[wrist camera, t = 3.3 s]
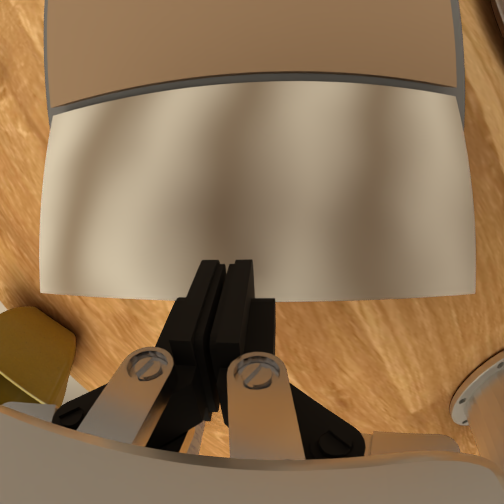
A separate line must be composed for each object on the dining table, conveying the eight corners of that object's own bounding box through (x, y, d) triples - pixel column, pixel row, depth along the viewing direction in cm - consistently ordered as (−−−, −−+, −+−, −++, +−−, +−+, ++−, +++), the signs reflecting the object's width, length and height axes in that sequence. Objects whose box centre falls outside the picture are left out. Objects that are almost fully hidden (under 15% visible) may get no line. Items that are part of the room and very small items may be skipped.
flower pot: (21, 278, 24) (-39, 340, 16) (97, 331, 25) (50, 409, 17) (17, 334, 27) (-26, 390, 19) (81, 378, 29) (46, 443, 21)
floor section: (443, -37, 10) (461, -48, 8) (433, 276, 20) (447, 296, 18) (53, -8, 13) (32, -14, 10) (92, 278, 23) (76, 296, 20)
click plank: (444, 107, 14) (455, 96, 13) (460, 290, 14) (475, 293, 13) (66, 124, 16) (52, 115, 15) (56, 290, 16) (40, 292, 15)
